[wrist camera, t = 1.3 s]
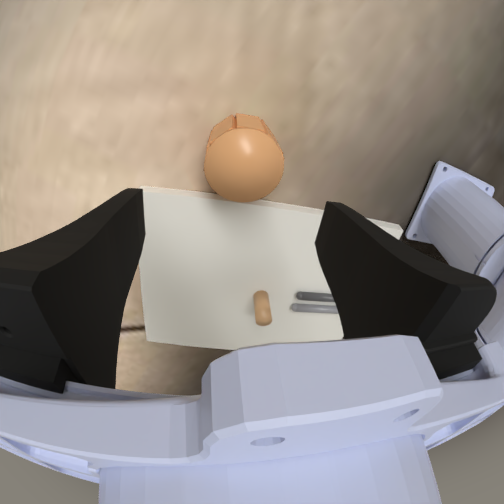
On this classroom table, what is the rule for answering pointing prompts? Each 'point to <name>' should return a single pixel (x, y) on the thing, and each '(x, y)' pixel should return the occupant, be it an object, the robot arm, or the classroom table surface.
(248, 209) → the plate
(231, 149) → the wire nut
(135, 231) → the robot arm
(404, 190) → the classroom table surface
